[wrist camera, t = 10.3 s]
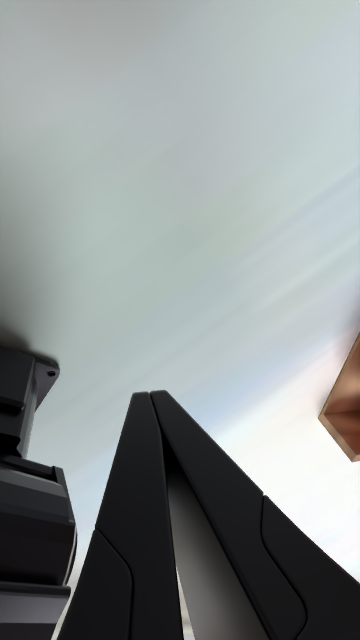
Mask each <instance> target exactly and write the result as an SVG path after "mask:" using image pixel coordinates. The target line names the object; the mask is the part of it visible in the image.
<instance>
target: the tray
mask: <svg viewBox="0 0 360 640" xmlns="http://www.w3.org/2000/svg"><path fill="white" fill-rule="evenodd" d="M318 420H319V421H320V422H321V423H322V425H323V426H324V427H325V428H326V430H327V431H328V432H329V434H330V435H331V436H332V437H333V439H334V440H335V441H336V443H337V444H338V445H339V446H340V448H341V449H342V450H343V451H344V453H345V454H346V455H347V457H348V458H349V459H350V460H351V462H356V461H360V334H359V336H358V338H357V340H356V342H355V344H354V346H353V348H352V350H351V352H350V354H349V356H348V359H347V361H346V363H345V365H344V367H343V369H342V371H341V373H340V375H339V377H338V379H337V381H336V383H335V385H334V387H333V389H332V391H331V394H330V396H329V398H328V400H327V402H326V404H325V406H324V408H323V410H322V412H321V414H320V416H319V418H318Z"/></svg>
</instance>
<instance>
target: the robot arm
mask: <svg viewBox="0 0 360 640" xmlns="http://www.w3.org/2000/svg"><path fill="white" fill-rule="evenodd" d="M49 371H54V373H50V372H49ZM59 374H60V368H59V367H58V366H57V365H55V364H52V363H50V362H47V361H44V360H41V359H38V358H35V357H32V356H30V355H27V354H24V353H21V352H18V351H15V350H12V349H9V348H7V347H4V346H1V345H0V640H51V638H52V635H53V633H54V630H55V627H56V624H57V622H58V620H59V618H60V616H61V614H62V612H63V610H64V608H65V605H66V603H67V601H68V599H69V597H70V594H71V588H70V586H66V585H67V583H68V580H69V577H70V575H71V572H72V568H73V564H74V561H75V556H76V549H77V528H76V523H75V519H74V515H73V510H72V506H71V502H70V498H69V494H68V489H67V485H66V481H65V477H64V473H63V469H62V468H59V467H56V466H52V467H49V466H46V465H43V464H40V463H36V462H33V461H30V460H27V459H26V457H27V452H28V446H29V441H30V435H31V429H32V424H33V418H34V413H35V411H36V410H37V408H38V407H39V405H40V404H41V402H42V401H43V399H44V398H45V396H46V395H47V393H48V392H49V390H50V389H51V387H52V386H53V384H54V383H55V381H56V380H57V378H58V377H59ZM176 566H177V570H178V574H179V578H180V582H181V586H182V590H183V594H184V597H185V601H186V605H187V609H188V613H189V617H190V621H191V625H192V629H193V633H194V637H195V640H360V583H359V582H358V581H357V580H355V579H354V578H353V577H352V576H351V575H350V574H349V573H347V572H346V571H345V570H344V569H343V568H342V567H341V566H340V565H338V564H337V563H336V562H335V561H334V560H333V559H332V558H330V557H329V556H328V555H327V554H326V553H325V552H324V551H323V550H322V549H321V548H319V547H318V546H317V545H316V544H315V543H314V542H313V541H312V540H311V539H310V538H309V537H307V536H306V535H305V534H304V533H303V532H302V531H301V530H300V529H299V528H298V527H297V526H296V525H295V524H294V523H293V522H292V521H291V520H290V519H289V518H288V517H287V516H286V515H285V514H284V513H283V512H282V511H281V510H280V509H279V508H278V507H277V506H276V505H275V504H274V503H273V502H272V501H271V500H270V499H269V497H268V496H267V495H264V496H263V491H262V490H261V489H260V488H259V487H258V486H257V485H256V484H255V483H254V482H253V481H252V480H251V479H250V478H249V477H248V476H247V475H246V474H245V472H244V471H243V470H242V469H241V468H240V467H239V466H238V465H237V464H236V463H235V462H234V461H233V460H232V459H231V458H230V457H229V456H228V455H227V454H226V453H225V452H224V450H223V449H222V448H221V447H220V446H219V445H218V444H217V443H216V442H215V441H214V440H213V439H212V438H211V437H210V436H209V435H208V434H207V433H206V432H205V431H204V430H203V429H202V427H201V426H200V425H199V424H198V423H197V422H196V421H195V420H194V419H193V418H192V417H191V416H190V415H189V414H188V413H187V412H186V411H185V410H184V409H183V408H182V407H181V405H180V404H179V403H178V402H177V401H176V400H175V399H174V398H173V397H172V396H171V395H170V394H169V393H168V392H167V391H166V390H157V391H151V392H150V393H149V392H135V393H133V394H132V397H131V401H130V404H129V408H128V411H127V415H126V418H125V422H124V425H123V429H122V432H121V436H120V439H119V443H118V446H117V450H116V454H115V457H114V461H113V464H112V468H111V471H110V475H109V478H108V482H107V485H106V489H105V492H104V496H103V499H102V503H101V506H100V510H99V514H98V517H97V521H96V524H95V530H94V531H93V534H92V537H91V541H90V544H89V548H88V551H87V555H86V558H85V561H84V564H83V567H82V571H81V574H80V577H79V580H78V583H77V587H76V589H75V592H74V595H73V597H72V600H71V603H70V606H69V608H68V611H67V614H66V616H65V619H64V622H63V624H62V627H61V630H60V632H59V635H58V637H57V640H184V636H183V626H182V617H181V608H180V599H179V590H178V581H177V572H176Z"/></svg>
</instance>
